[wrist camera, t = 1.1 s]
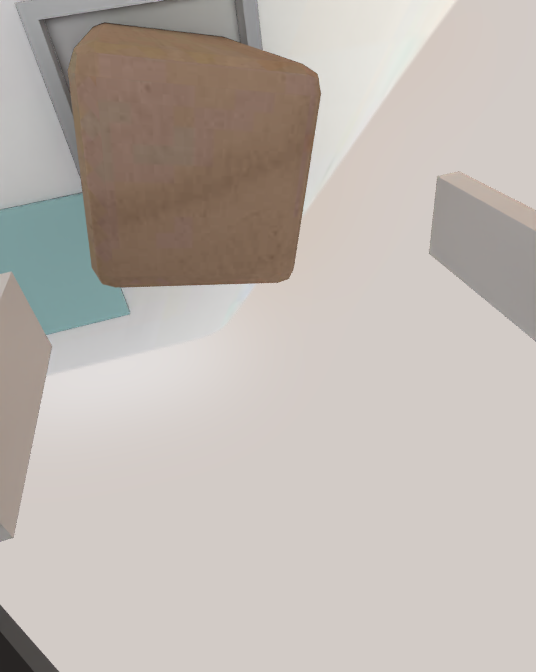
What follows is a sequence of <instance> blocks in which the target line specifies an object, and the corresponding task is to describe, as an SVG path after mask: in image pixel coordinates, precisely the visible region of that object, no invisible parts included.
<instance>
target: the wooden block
mask: <svg viewBox="0 0 536 672" xmlns="http://www.w3.org/2000/svg"><path fill="white" fill-rule="evenodd" d="M68 77H69V85H70V93H71V102H72V110H73V118H74V126H75V135H76V143H77V151H78V159H79V167H80V176H81V184H82V192H83V200H84V208H85V217H86V225H87V233H88V241H89V249H90V258H91V266H92V269H93V270H94V272H95V274H96V275H97V277H98V279H99V280H100V282H101V283H102V284H104V285H108V286H111V287H115V288H117V287H150V286H182V285H215V284H248V283H278V282H281V281H284V280H287V279H289V277H290V275H291V273H292V271H293V268H294V263H295V256H296V250H297V244H298V237H299V230H300V224H301V218H302V212H303V205H304V199H305V192H306V186H307V180H308V173H309V167H310V160H311V154H312V147H313V141H314V135H315V128H316V122H317V115H318V109H319V103H320V96H321V91H320V86H319V78H318V74H317V73H315V72H314V71H312V70H311V69H309V68H308V67H306V66H305V65H303V64H301V63H298V62H295V61H292V60H289V59H286V58H283V57H280V56H278V55H275V54H272V53H269V52H266V51H263V50H260V49H257V48H254V47H251V46H248V45H245V44H242V43H239V42H236V41H234V40H231V39H228V38H225V37H220V36H212V35H203V34H195V33H187V32H178V31H170V30H162V29H153V28H145V27H136V26H128V25H120V24H111V23H102V24H99V25H97V26H94V27H93V28H92V29H91V30H90V31H89V32H88V33H87V35H86V36H85V37H84V38H83V39H82V40H81V41H80V42H79V43H78V45H77V46H76V47H75V48H74V50H73V53H72V57H71V60H70V64H69V68H68Z"/></svg>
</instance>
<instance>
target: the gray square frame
mask: <svg viewBox="0 0 536 672" xmlns="http://www.w3.org/2000/svg"><path fill="white" fill-rule="evenodd" d="M156 1H162V0H29V1H23V2H16V3H15V5H16V8H17V11H18V13H19V16H20V19H21V21H22V24H23V27H24V29H25V32H26V34H27V37H28V40H29V42H30V45H31V48H32V50H33V53H34V56H35V58H36V61H37V64H38V66H39V69H40V72H41V74H42V77H43V80H44V82H45V85H46V88H47V90H48V93H49V96H50V98H51V101H52V104H53V106H54V109H55V112H56V114H57V117H58V120H59V122H60V125H61V127H62V130H63V133H64V135H65V138H66V141H67V143H68V146H69V149H70V151H71V154H72V157H73V159H74V162H75V165H76V167H77V170H78V173H79V175H80V167H79V159H78V151H77V143H76V135H75V126H74V118H73V110H72V102H71V95H70V92H69V90H68V87H67V84H66V81H65V78H64V75H63V72H62V70H61V67H60V64H59V61H58V58H57V55H56V53H55V50H54V47H53V44H52V41H51V38H50V35H49V33H48V30H47V27H46V24H45V21H44V19H48V18H54V17H61V16H67V15H73V14H80V13H86V12H93V11H99V10H105V9H112V8H118V7H124V6H131V5H137V4H143V3H150V2H156ZM235 5H236V12H237V20H238V27H239V34H240V42H241V43H242V44H245V45H248V46H251V47H254V48H257V49H260V50H263V49H262V40H261V31H260V22H259V13H258V4H257V0H235ZM80 178H81V176H80Z"/></svg>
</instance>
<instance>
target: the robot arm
mask: <svg viewBox="0 0 536 672" xmlns="http://www.w3.org/2000/svg"><path fill="white" fill-rule="evenodd" d="M429 254H430V255H431V256H433V257H434V258H435V259H436V260H438V261H439V262H440V263H441V264H442V265H444V266H445V267H446V268H447V269H448V270H450V271H451V272H452V273H453V274H454V275H456V276H457V277H458V278H459V279H461V280H462V281H463V282H464V283H466V284H467V285H468V286H469V287H470V288H471V289H473V290H474V291H475V292H476V293H478V294H479V295H480V296H481V297H482V298H484V299H485V300H486V301H487V302H489V303H490V304H491V305H492V306H493V307H495V308H496V309H497V310H498V311H499V312H501V313H502V314H503V315H504V316H505V317H507V318H508V319H509V320H510V321H512V322H513V323H514V324H515V325H516V326H518V327H519V328H520V329H521V330H522V331H524V332H525V333H526V334H528V335H529V336H530V337H531V338H532V339H533V340H535V341H536V210H534V209H532V208H530V207H528V206H526V205H524V204H522V203H521V202H519V201H516V200H515V199H512V198H511V197H509V196H507V195H505V194H503V193H501V192H499V191H497V190H495V189H493V188H491V187H489V186H487V185H485V184H483V183H481V182H479V181H477V180H475V179H473V178H471V177H469V176H467V175H465V174H463V173H461V172H454V173H450V174H446V175H441V176H438V177H437V184H436V193H435V203H434V212H433V221H432V230H431V240H430V249H429ZM51 349H52V346H51V344H50V342H49V340H48V338H47V336H46V334H45V333H44V331H43V329H42V327H41V325H40V323H39V321H38V320H37V318H36V316H35V314H34V312H33V310H32V308H31V307H30V305H29V303H28V301H27V299H26V297H25V295H24V294H23V292H22V290H21V288H20V286H19V284H18V282H17V281H16V279H15V277H14V275H13V273H12V271H11V272H7V273H2V274H0V542H1V541H4V540H7V539H11V538H14V533H15V528H16V523H17V518H18V513H19V508H20V503H21V498H22V493H23V488H24V483H25V478H26V473H27V468H28V463H29V458H30V453H31V448H32V443H33V438H34V433H35V428H36V423H37V418H38V413H39V408H40V403H41V398H42V393H43V388H44V383H45V378H46V373H47V369H48V364H49V359H50V354H51ZM0 672H59V671H58V670H57V669H56V668H55V667H54V665H53V664H52V663H51V662H50V661H49V660H48V659H47V658H46V656H45V655H44V654H43V653H42V652H41V651H40V650H39V648H38V647H37V646H36V645H35V644H34V643H33V642H32V641H31V640H30V638H29V637H28V636H27V635H26V634H25V632H23V630H22V629H21V628H20V627H19V626H18V625H17V624H16V622H15V621H14V620H13V619H12V618H11V617H10V616H9V614H8V613H7V612H6V611H5V610H4V609H3V607H2V606H1V605H0Z"/></svg>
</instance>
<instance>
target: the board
mask: <svg viewBox="0 0 536 672" xmlns="http://www.w3.org/2000/svg"><path fill="white" fill-rule="evenodd" d="M11 271H12V273H13V275H14V277H15V279H16V281H17V282H18V284H19V286H20V288H21V290H22V292H23V294H24V295H25V297H26V299H27V301H28V303H29V305H30V307H31V308H32V310H33V312H34V314H35V316H36V318H37V320H38V321H39V323H40V325H41V327H42V329H43V331H44V333H45V334H46V335H48V334H52V333H56V332H60V331H64V330H68V329H72V328H76V327H80V326H84V325H88V324H92V323H96V322H100V321H104V320H108V319H113V318H117V317H121V316H125V315H129V314H130V311H129V308H128V306H127V303H126V300H125V298H124V295H123V293H122V290H121V287H117V288H115V287H111V286H108V285H104V284H102V283H101V282H100V280H99V279H98V277H97V275H96V274H95V272H94V270H93V269H92V266H91V258H90V249H89V241H88V233H87V225H86V217H85V208H84V200H83V193H79V194H74V195H69V196H64V197H59V198H55V199H50V200H45V201H40V202H35V203H31V204H26V205H21V206H16V207H11V208H7V209H2V210H0V274H2V273H7V272H11Z"/></svg>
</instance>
